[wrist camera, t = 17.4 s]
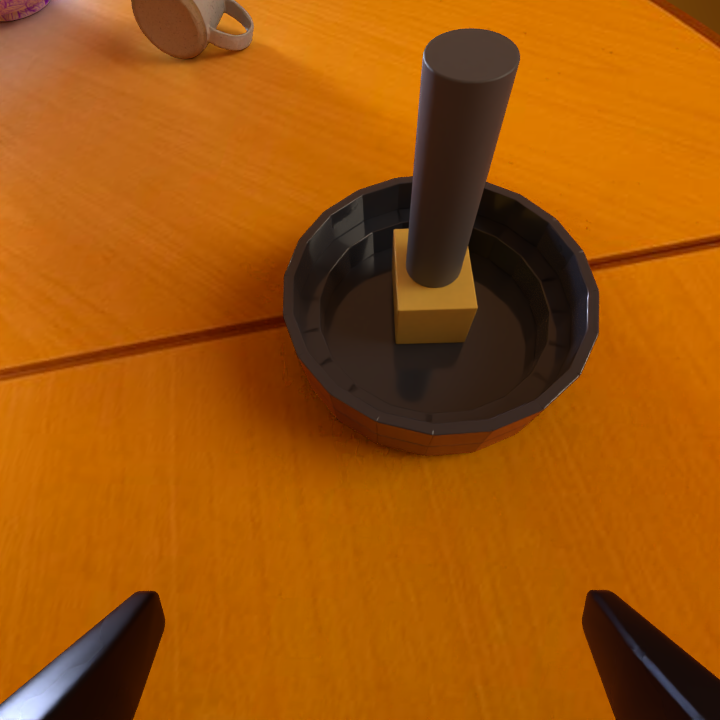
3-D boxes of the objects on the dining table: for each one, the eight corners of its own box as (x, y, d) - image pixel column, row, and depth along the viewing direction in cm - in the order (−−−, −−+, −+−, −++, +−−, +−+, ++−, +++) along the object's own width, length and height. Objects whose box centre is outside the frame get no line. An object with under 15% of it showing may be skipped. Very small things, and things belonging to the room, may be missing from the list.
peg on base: (464, 342, 25) (558, 105, 12) (395, 344, 26) (410, 113, 12) (454, 267, 28) (521, 3, 15) (391, 269, 28) (401, 10, 15)
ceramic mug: (150, 65, 42) (106, -31, 35) (171, 23, 46) (135, -72, 39) (248, 65, 42) (223, -32, 35) (262, 23, 45) (242, -73, 38)
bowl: (617, 339, 26) (667, 293, 21) (421, 522, 22) (432, 514, 17) (430, 196, 32) (438, 138, 27) (251, 317, 28) (225, 272, 23)
